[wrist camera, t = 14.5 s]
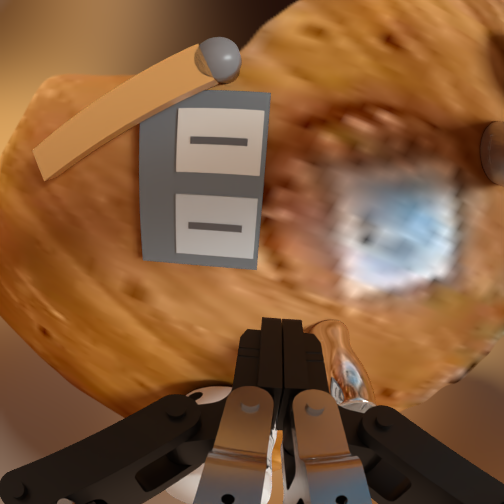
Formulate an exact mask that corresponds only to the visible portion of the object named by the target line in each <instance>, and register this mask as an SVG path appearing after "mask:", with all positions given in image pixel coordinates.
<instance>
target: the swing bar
mask: <svg viewBox="0 0 504 504" xmlns="http://www.w3.org/2000/svg"><path fill="white" fill-rule="evenodd" d="M240 67H241V56H240V53H239V50H238V48H237V46H236V45H235V43H234V42H232V41H231V40H229V39H227V38H223V37H214V38H210V39H208V40H206V41H204V42H203V43H201V44H200V45H198V44H196V45H194V46H192V47H189V48H187V49H185V50H183V51H181V52H179V53H177V54H175V55H173V56H171V57H169V58H167V59H165V60H163V61H161V62H159V63H157V64H155V65H154V66H152V67H150V68H148V69H146V70H145V71H143V72H141V73H139V74H137V75H136V76H134V77H132V78H131V79H129V80H127V81H126V82H124V83H122V84H121V85H119V86H117V87H116V88H114V89H113V90H111V91H110V92H108V93H107V94H105V95H104V96H102V97H101V98H99V99H98V100H96V101H95V102H93V103H92V104H90V105H89V106H87V107H86V108H85V109H83V110H82V111H81V112H79V113H78V114H76V115H75V116H74V117H72V118H71V119H70V120H68V121H67V122H66V123H65V124H63V125H62V126H61V127H60V128H58V129H57V130H56V131H55V132H53V133H52V134H51V135H50V136H48V137H47V138H46V139H45V140H44V141H43V142H41V143H40V144H39V145H38V146H37V147H36V148H35V149H33V150H32V151H33V154H34V157H35V159H36V162H37V164H38V167H39V169H40V172H41V174H42V177H43V179H44V181H46V180H49V179H52V178H55V177H57V176H59V175H60V174H61V173H63V172H64V171H66V170H67V169H68V168H70V167H71V166H72V165H74V164H75V163H77V162H78V161H80V160H81V159H83V158H84V157H85V156H87V155H88V154H90V153H91V152H93V151H94V150H96V149H97V148H99V147H101V146H102V145H104V144H105V143H107V142H108V141H110V140H112V139H113V138H115V137H116V136H118V135H120V134H121V133H123V132H125V131H126V130H128V129H130V128H132V127H133V126H135V125H137V124H139V123H140V122H142V121H144V120H146V119H147V118H149V117H151V116H153V115H155V114H157V113H159V112H161V111H162V110H164V109H166V108H168V107H170V106H172V105H174V104H176V103H178V102H180V101H182V100H184V99H186V98H188V97H191V96H193V95H195V94H197V93H199V92H201V91H204V90H206V89H208V88H210V87H213V86H215V85H217V84H218V82H222V81H226V80H229V79H231V78H233V77H234V76H235V75H236V74H237V73H238V72H239V70H240Z"/></svg>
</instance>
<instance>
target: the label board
mask: <svg viewBox="0 0 504 504" xmlns="http://www.w3.org/2000/svg"><path fill="white" fill-rule="evenodd" d="M270 97H271V93H263V92H247V91H222V90H204V91H201V92H199V93H197V94H195V95H193V96H191V97H188V98H186V99H184V100H182V101H180V102H178V103H176V104H174V105H172V106H170V107H168V108H166V109H164V110H162V111H161V112H159V113H157V114H155V115H153V116H151V117H149V118H147V119H146V120H144V121H142V122H140V139H139V195H140V222H141V240H142V254H143V260H146V261H157V262H168V263H179V264H191V265H202V266H214V267H226V268H239V269H252V270H257V259H258V247H259V235H260V223H261V211H262V199H263V186H264V174H265V161H266V149H267V136H268V123H269V110H270Z"/></svg>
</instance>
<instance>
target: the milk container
mask: <svg viewBox="0 0 504 504" xmlns="http://www.w3.org/2000/svg"><path fill="white" fill-rule="evenodd" d="M231 390H232V387H231V386H207V387H203V388H199V389H196V390H194V391H192V392H190V393H189V394H187V395H186V396H188V397H190V398H192V399H193V400H195V401H196V403H197V404H198V405H199V404H207V403H213V402H217V401H220V400H222V399H224V398H225V397H226V396H227V395H228V394H229V393H230V392H231ZM276 437H277V430H276V421H275V426H274V430H271V433H270V437H269V445H268V452H267V465H266V472H265V479H264V486H263V492H262V498H261V504H267V502H268V501H269V499H270V495H271V489H272V480H271V477H272V462H271V456H272V450H273V447H274V444H275V440H276ZM204 464H205V463H203V464H202V465H201V466H200V467H198V468H197V469H196V470H194V471H193V472H191V473H190V474H188V475H187V476H185V477H184V478H182V479H181V480H179V481H178V482H176V483H175V484H173V485H172V486H170V487H169V488H167V489H165V490H166V492H168V493H169V494H170V495H171V496H173V497H174V498H176V499H179V500H180V501H182V502H185V503H187V504H193V501H194V498H195V495H196V491H197V488H198V485H199V481H200V478H201V475H202V471H203V468H204Z"/></svg>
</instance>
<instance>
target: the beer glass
mask: <svg viewBox="0 0 504 504" xmlns="http://www.w3.org/2000/svg"><path fill="white" fill-rule="evenodd" d="M309 333H311V334H315V336H316V337H317V338H318V339H319V341H320V342H321V346H322V352H323V353H322V354H323V357H324V363H325V369H326V375H327V381H328V387H329V392H330V395H331V396H332V397H333V398H334V399H335V400H336V402H337V404H338V405H340V406H341V407H343V408H346V409H349V410H353V411H357V412H361V413H365V412H366V411H367V410H368V409H369V408H371V407H374V406H377V405H376V400H375V395H374V391H373V387H372V384H371V381H370V378H369V376H368V374H367V372H366V370H365V368H364V366H363V364H362V363H361V361H360V360H359V358H358V357H357V355H356V354H355V352H354V351H353V349H352V347H351V344H350V336H349V330H348V328H347V326H346V325H345V324H344V323H342V322H340V321H337V320H326V321H323V322H320V323H318V324H317V325H315V326H314V327H313V328H312V329H311V330H310V332H309Z"/></svg>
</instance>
